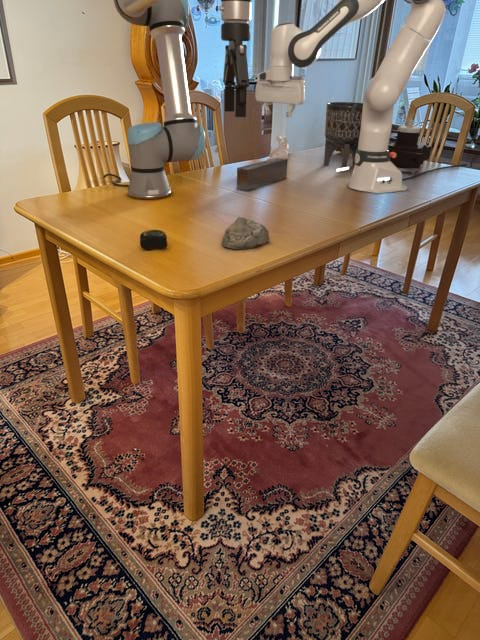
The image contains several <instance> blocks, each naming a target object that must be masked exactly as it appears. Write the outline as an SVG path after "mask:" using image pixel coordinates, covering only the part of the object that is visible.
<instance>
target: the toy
mask: <svg viewBox="0 0 480 640" xmlns="http://www.w3.org/2000/svg"><path fill="white" fill-rule="evenodd" d="M335 151H336V152H340V153H342V147H340V148H338V149H336V150H335ZM348 155H352V153H351V151H350V150H349V152H348Z"/></svg>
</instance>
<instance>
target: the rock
mask: <svg viewBox="0 0 480 640" xmlns="http://www.w3.org/2000/svg"><path fill="white" fill-rule="evenodd" d="M269 241H270V233H269V230H268V229H267V228H266V226H265V225H263V224H261V223H259V222H256V221H255V220H252V219H247V218H245V217H241V216H238V217H237V218H236V219H235V221H234V222H233V223H232V224H231V225H229V226H228V227H227V228H226V229H225V231H224V233H223V236H222V239H221V244H222V247H224V248H229V249H231V250H245V249H254V248H257V247H259V246H260V245H264V244H266V242H269Z"/></svg>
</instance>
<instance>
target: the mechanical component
mask: <svg viewBox="0 0 480 640" xmlns="http://www.w3.org/2000/svg"><path fill="white" fill-rule="evenodd" d="M414 124H415V119H407V121H406V125H399V126H398V127H397V133H396V139H395V142H393V143H392V142H391V143H389V145H388V151H390V152H395V154H397V156H396V157H395V158H392V157H390V161H391V162H392V163H393V164H394V165H395V166H396V167H397V168H398V169H399V170H400V171H401V172H410V174H415V173H416V171H419V170H420V169H421V168H423V166H424V162H425V161H428V160H430V157H431V154H432V148H433V146H432V145H429V144H427V143H425V142H420V141H419V137H420V133H421V129H422V128H421V127H420V126H416V125H414Z"/></svg>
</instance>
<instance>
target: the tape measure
mask: <svg viewBox="0 0 480 640" xmlns="http://www.w3.org/2000/svg"><path fill="white" fill-rule="evenodd" d="M167 236H168V235H167V234H166V232H165V231H164V230H161V229H147V230H144V231H143V232H141V233H140V235H139V240H140V241H139V245H140V246H139V247H141V248H142V249H146V250H157V249H167V248H168V240H167V239H168V237H167Z"/></svg>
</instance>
